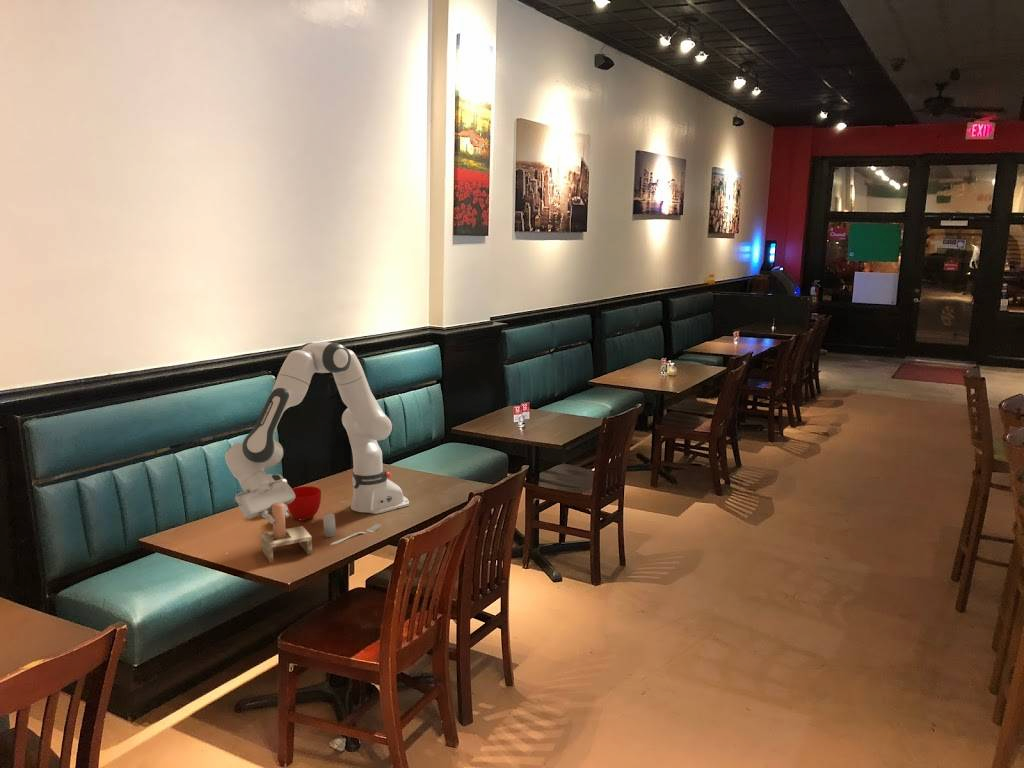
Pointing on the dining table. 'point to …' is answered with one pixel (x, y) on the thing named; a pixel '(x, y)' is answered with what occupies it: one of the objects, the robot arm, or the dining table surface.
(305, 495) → the ceramic cup
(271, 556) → the bridge
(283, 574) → the dining table surface
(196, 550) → the dining table surface
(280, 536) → the long dowel
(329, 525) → the short dowel
